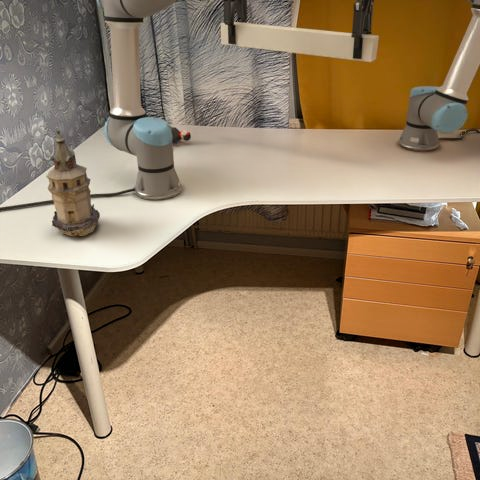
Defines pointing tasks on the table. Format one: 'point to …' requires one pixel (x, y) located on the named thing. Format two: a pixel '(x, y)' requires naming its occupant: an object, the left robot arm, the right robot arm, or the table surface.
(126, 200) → the table surface
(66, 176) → the miniature building
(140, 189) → the left robot arm
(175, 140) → the toy
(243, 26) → the bar
